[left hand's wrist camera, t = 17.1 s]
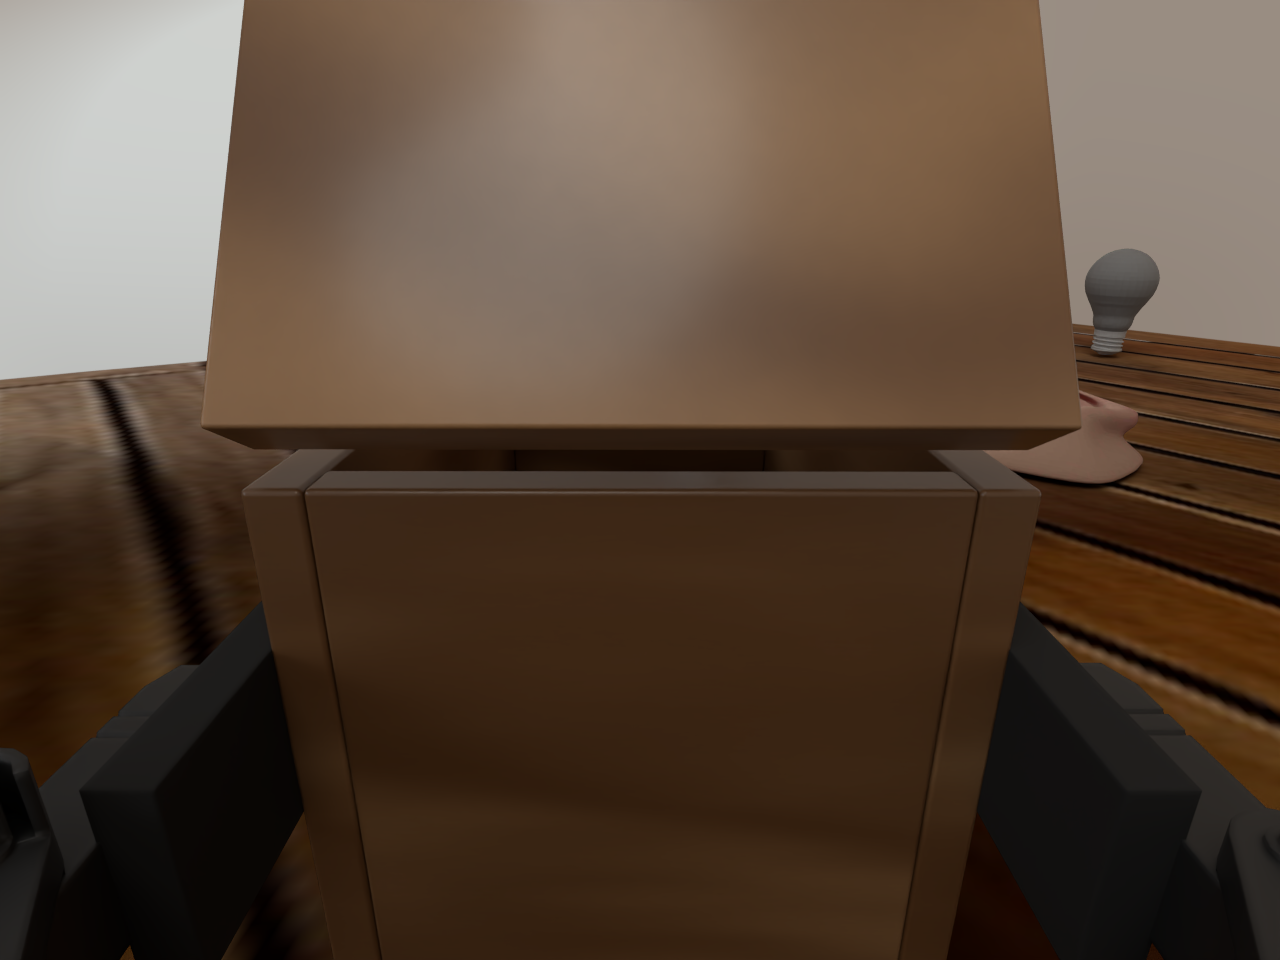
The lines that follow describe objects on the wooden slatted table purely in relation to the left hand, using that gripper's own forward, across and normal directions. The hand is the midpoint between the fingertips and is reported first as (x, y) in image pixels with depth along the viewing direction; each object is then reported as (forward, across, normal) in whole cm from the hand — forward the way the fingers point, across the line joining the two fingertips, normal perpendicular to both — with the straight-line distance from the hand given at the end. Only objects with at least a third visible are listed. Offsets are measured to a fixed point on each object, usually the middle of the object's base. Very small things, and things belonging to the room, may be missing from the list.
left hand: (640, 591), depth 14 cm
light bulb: (+61, +46, -7) cm, 77 cm away
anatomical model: (+31, +24, -7) cm, 40 cm away
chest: (+4, 0, -7) cm, 8 cm away
